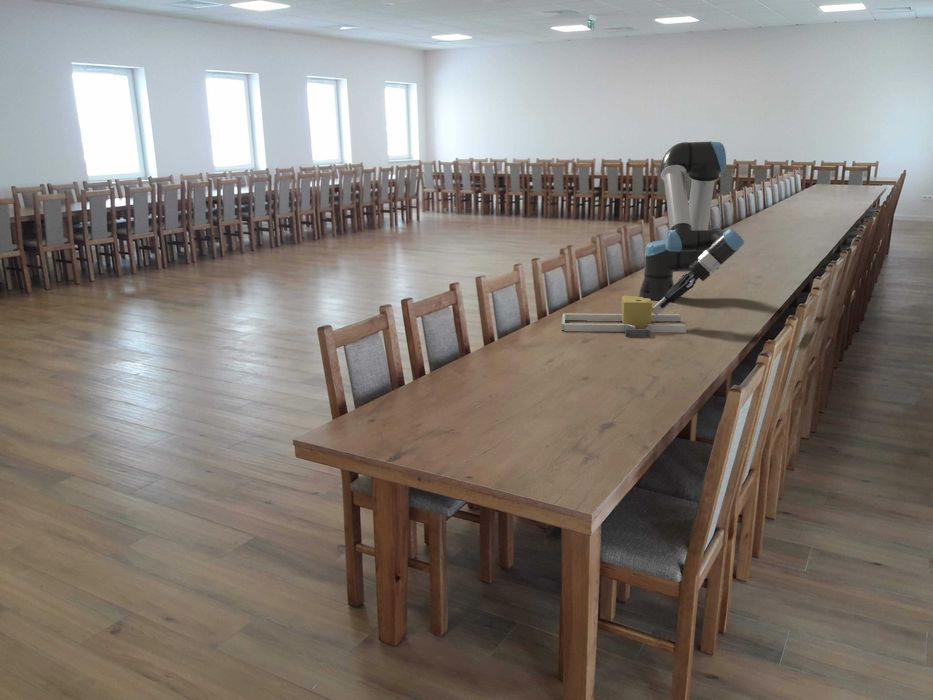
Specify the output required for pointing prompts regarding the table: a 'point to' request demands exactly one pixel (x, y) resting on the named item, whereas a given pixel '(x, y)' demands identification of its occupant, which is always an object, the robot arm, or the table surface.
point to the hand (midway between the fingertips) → (653, 312)
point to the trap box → (626, 328)
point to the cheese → (636, 311)
